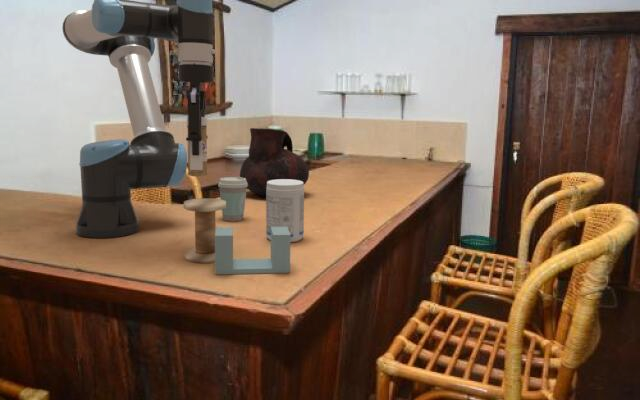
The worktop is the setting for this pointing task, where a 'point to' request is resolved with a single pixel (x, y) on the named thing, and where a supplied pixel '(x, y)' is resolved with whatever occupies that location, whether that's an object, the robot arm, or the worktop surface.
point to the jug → (271, 160)
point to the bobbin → (203, 228)
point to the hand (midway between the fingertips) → (197, 168)
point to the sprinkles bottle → (204, 150)
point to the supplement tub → (285, 207)
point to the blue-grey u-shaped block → (252, 266)
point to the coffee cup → (233, 197)
